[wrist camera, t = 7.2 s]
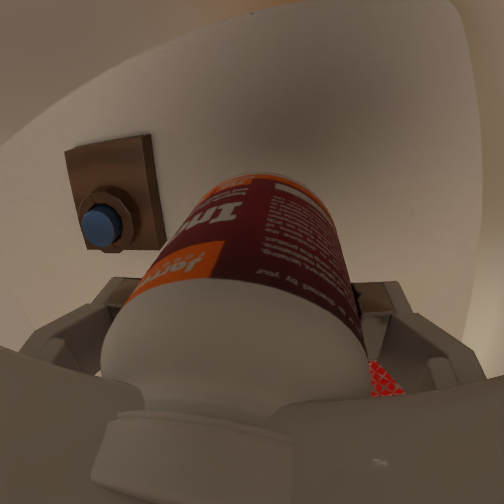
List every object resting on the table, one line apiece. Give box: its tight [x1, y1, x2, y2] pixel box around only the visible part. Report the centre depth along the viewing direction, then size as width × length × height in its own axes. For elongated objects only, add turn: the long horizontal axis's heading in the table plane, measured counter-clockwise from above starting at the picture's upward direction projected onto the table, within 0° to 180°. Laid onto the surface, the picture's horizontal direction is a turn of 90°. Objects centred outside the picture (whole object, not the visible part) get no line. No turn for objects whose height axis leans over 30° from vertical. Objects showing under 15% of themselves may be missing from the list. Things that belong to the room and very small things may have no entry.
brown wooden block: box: [64, 134, 167, 253], centre depth 29 cm, size 12×10×4 cm
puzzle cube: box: [369, 361, 407, 398], centre depth 37 cm, size 8×8×8 cm
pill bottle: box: [91, 172, 372, 504], centre depth 8 cm, size 6×6×11 cm
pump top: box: [82, 205, 122, 247], centre depth 28 cm, size 4×4×2 cm
